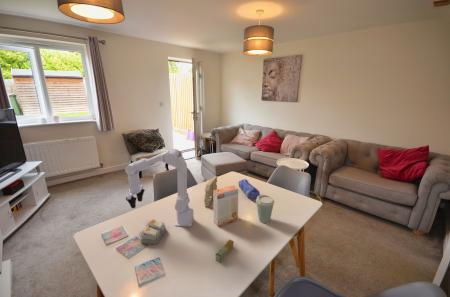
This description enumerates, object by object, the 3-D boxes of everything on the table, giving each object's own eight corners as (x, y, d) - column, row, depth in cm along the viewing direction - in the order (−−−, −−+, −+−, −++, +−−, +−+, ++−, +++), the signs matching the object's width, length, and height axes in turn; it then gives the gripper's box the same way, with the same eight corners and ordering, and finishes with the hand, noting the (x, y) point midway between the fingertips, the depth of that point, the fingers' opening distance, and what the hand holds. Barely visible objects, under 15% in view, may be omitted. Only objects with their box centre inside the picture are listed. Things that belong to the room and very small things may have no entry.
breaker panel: (165, 229, 113) (165, 222, 112) (156, 244, 102) (155, 236, 100) (152, 228, 114) (151, 221, 113) (141, 243, 102) (140, 235, 101)
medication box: (220, 263, 91) (220, 256, 89) (215, 260, 92) (215, 253, 91) (233, 247, 100) (233, 240, 99) (229, 245, 102) (229, 238, 101)
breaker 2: (156, 233, 106) (158, 230, 105) (154, 237, 102) (155, 234, 102) (146, 228, 105) (147, 225, 105) (143, 232, 102) (144, 229, 102)
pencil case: (237, 188, 164) (238, 178, 161) (247, 187, 166) (247, 176, 164) (249, 202, 143) (249, 189, 141) (259, 200, 146) (260, 188, 143)
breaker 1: (161, 226, 111) (162, 223, 111) (159, 230, 108) (160, 227, 108) (151, 221, 111) (153, 218, 111) (149, 225, 108) (150, 222, 108)
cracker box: (233, 215, 127) (233, 184, 122) (238, 220, 122) (239, 188, 117) (213, 221, 121) (212, 189, 115) (217, 227, 115) (217, 194, 110)
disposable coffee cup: (276, 220, 122) (278, 197, 119) (266, 228, 115) (268, 204, 111) (261, 213, 129) (262, 192, 126) (251, 220, 122) (252, 198, 118)
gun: (208, 208, 135) (209, 186, 132) (204, 207, 136) (204, 186, 133) (217, 194, 158) (217, 176, 156) (213, 194, 159) (213, 175, 157)
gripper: (134, 178, 124) (136, 198, 127) (120, 188, 110) (123, 210, 113) (145, 178, 123) (147, 198, 126) (132, 189, 109) (135, 211, 112)
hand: (136, 204), depth 120 cm, fingers open, 7 cm apart
